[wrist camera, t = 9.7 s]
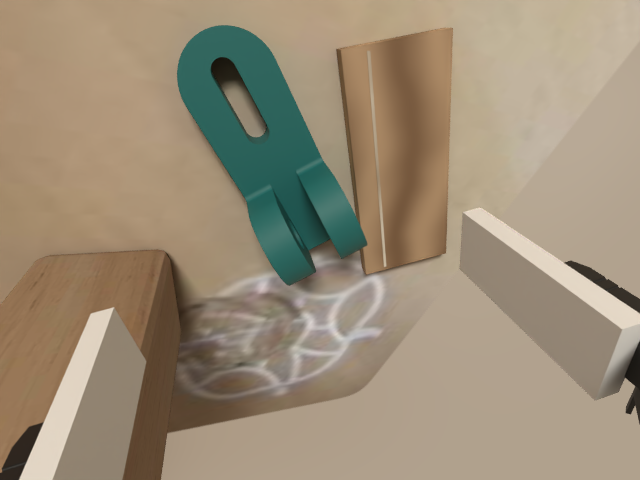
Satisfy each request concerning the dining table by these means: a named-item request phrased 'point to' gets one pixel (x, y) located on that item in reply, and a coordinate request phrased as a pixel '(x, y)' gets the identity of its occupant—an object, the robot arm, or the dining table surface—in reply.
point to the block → (65, 332)
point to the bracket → (268, 153)
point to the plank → (399, 144)
